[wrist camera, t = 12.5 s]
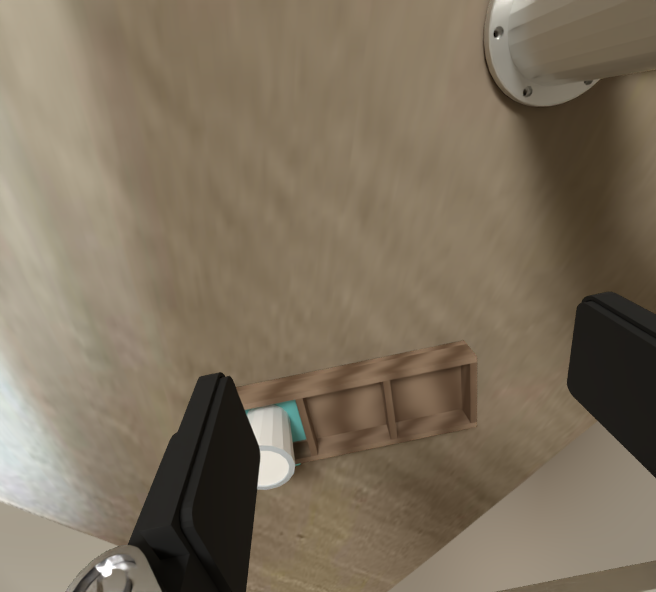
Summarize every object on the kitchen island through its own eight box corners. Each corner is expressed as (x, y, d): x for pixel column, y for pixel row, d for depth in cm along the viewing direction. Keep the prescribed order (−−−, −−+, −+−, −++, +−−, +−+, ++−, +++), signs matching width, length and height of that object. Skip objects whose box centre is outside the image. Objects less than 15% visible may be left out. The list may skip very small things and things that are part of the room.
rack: (464, 340, 44) (477, 356, 41) (465, 410, 49) (476, 429, 45) (211, 392, 43) (205, 412, 40) (238, 457, 48) (234, 479, 45)
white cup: (301, 406, 44) (303, 452, 38) (286, 445, 47) (285, 494, 41) (246, 395, 43) (239, 441, 36) (233, 436, 45) (224, 485, 39)
